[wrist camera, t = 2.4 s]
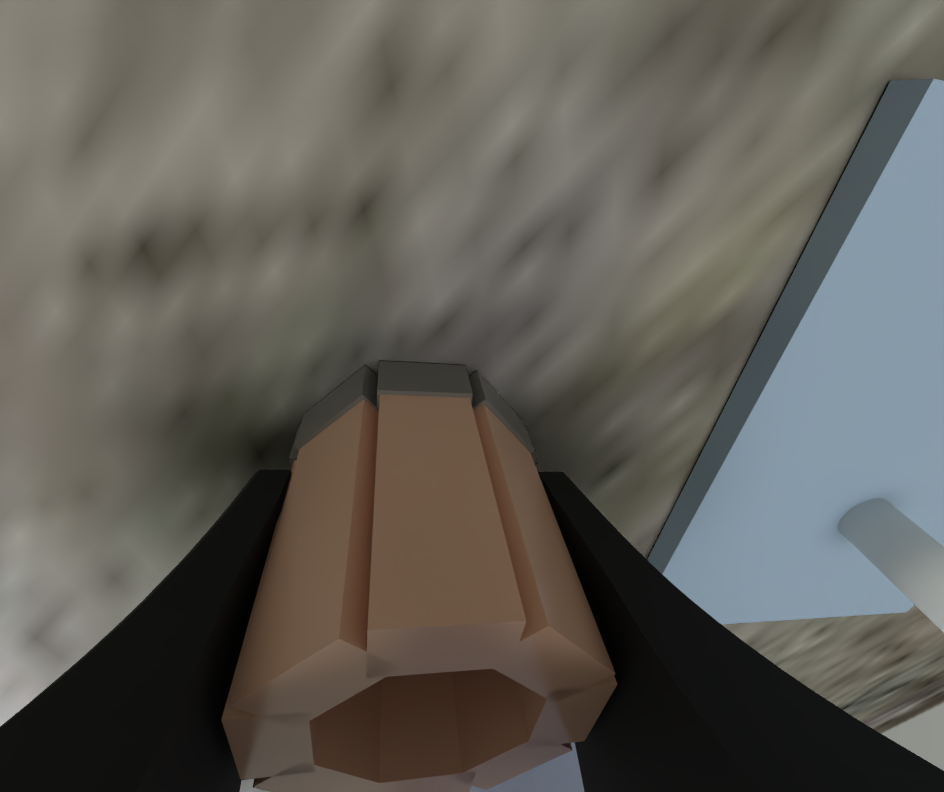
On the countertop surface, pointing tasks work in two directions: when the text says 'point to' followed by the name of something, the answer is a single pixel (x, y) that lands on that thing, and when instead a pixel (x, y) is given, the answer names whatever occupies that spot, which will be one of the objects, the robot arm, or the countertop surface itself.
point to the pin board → (837, 408)
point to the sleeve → (414, 601)
